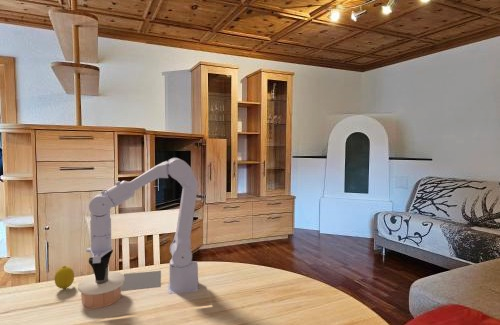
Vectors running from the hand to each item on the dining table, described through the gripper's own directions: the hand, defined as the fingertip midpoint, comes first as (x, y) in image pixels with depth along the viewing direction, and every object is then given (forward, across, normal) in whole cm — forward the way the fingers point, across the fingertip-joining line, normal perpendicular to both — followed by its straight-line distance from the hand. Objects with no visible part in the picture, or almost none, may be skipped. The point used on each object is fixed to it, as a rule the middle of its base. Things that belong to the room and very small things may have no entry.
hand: (101, 276), depth 96 cm
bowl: (+7, 0, 0) cm, 7 cm away
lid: (+2, 0, 0) cm, 2 cm away
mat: (+7, -10, +11) cm, 17 cm away
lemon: (+8, -10, -13) cm, 18 cm away
